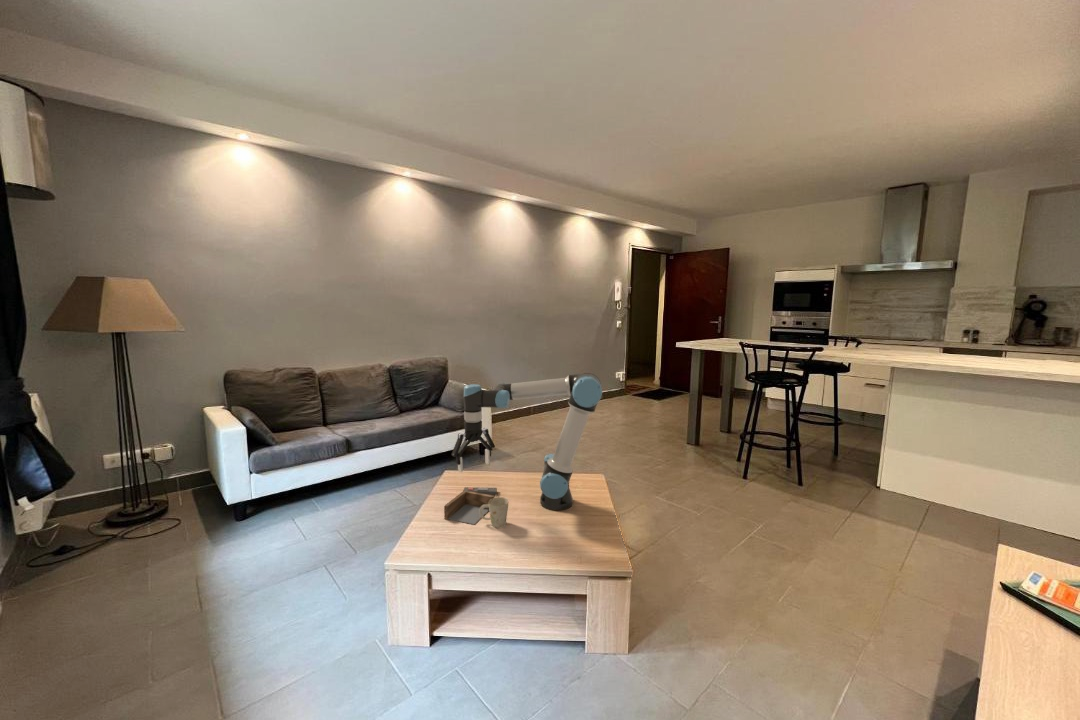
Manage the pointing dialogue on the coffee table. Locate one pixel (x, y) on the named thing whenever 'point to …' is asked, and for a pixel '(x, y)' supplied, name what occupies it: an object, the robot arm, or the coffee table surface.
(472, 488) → the remote
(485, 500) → the brown corner wall
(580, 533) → the coffee table surface
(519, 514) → the coffee table surface
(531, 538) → the coffee table surface
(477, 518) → the mat
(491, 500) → the mug
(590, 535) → the coffee table surface
